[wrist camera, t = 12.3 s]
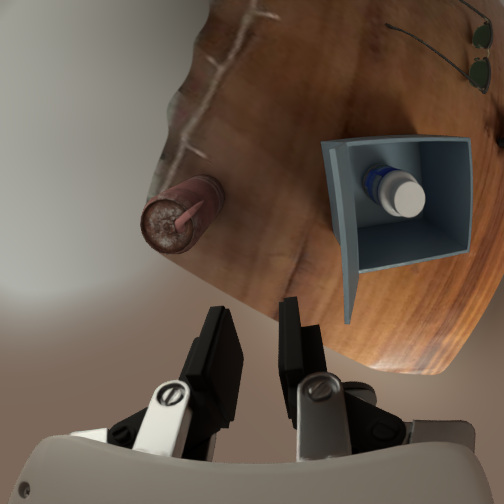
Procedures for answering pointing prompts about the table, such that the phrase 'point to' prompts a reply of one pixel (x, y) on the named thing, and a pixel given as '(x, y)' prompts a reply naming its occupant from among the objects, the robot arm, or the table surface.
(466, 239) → the carton
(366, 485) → the robot arm
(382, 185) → the pill bottle
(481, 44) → the sunglasses
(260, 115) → the table surface
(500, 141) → the toy ball
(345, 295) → the flap
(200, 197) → the can
